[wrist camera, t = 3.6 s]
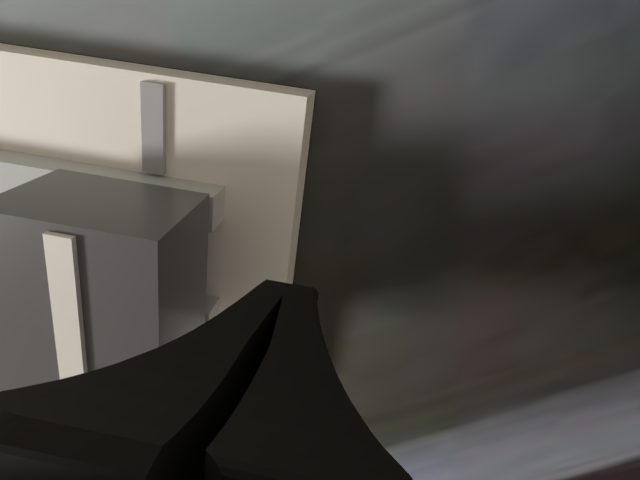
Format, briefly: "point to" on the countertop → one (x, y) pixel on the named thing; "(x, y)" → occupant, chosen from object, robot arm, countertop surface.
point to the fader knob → (96, 273)
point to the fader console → (169, 148)
